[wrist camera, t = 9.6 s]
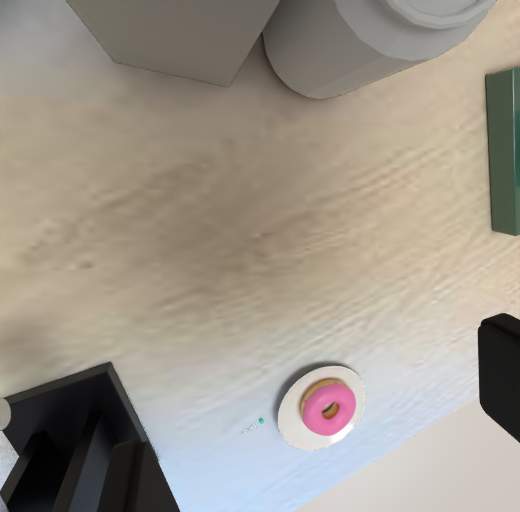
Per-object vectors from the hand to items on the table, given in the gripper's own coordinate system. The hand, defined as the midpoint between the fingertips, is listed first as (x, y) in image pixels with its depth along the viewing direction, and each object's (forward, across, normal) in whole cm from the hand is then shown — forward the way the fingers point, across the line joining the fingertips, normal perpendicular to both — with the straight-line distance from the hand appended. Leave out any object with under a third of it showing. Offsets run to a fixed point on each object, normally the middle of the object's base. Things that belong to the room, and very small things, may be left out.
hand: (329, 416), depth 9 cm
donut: (+17, -2, +16) cm, 23 cm away
